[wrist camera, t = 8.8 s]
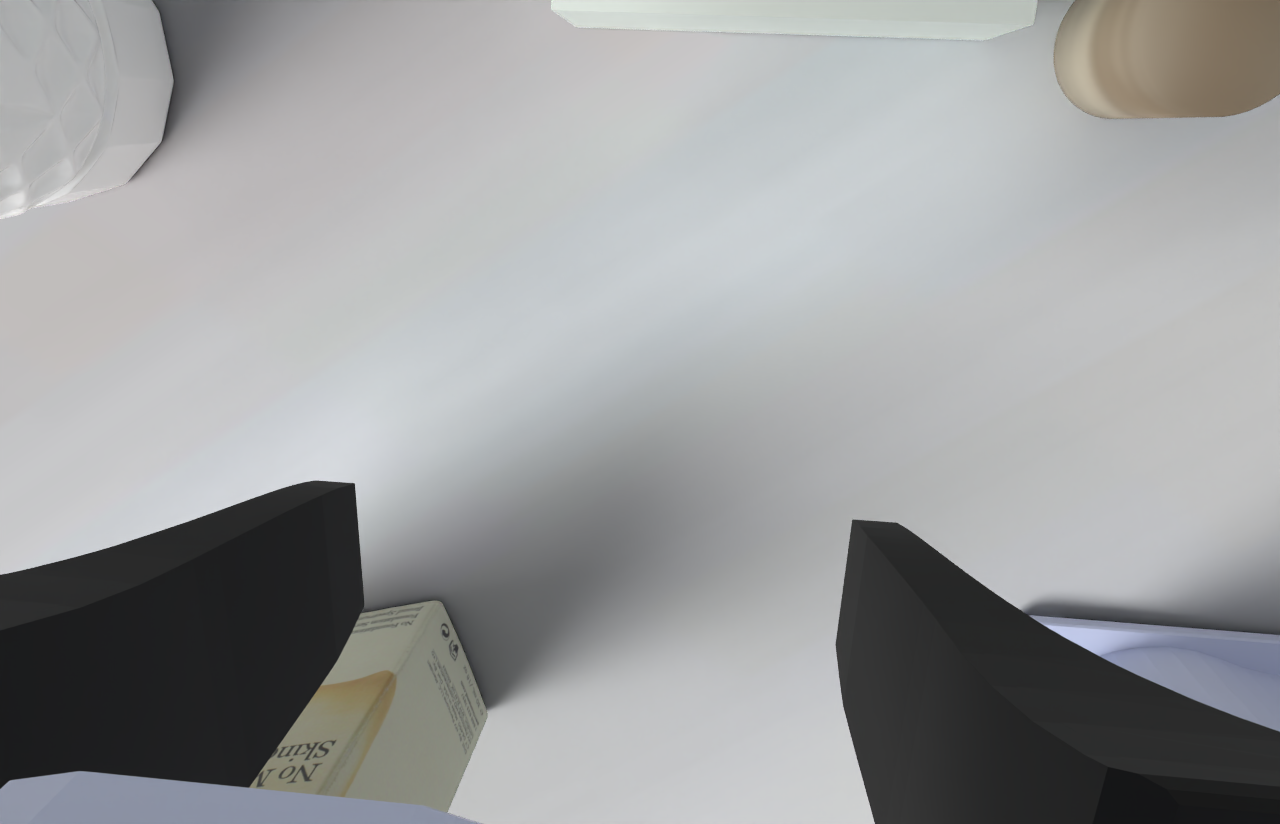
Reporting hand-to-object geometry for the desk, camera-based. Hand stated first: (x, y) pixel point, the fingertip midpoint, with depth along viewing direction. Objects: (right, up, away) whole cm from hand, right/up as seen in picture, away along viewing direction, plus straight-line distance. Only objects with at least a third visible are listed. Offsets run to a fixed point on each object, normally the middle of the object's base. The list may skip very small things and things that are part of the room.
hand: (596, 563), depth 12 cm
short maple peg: (+11, +10, +6) cm, 16 cm away
